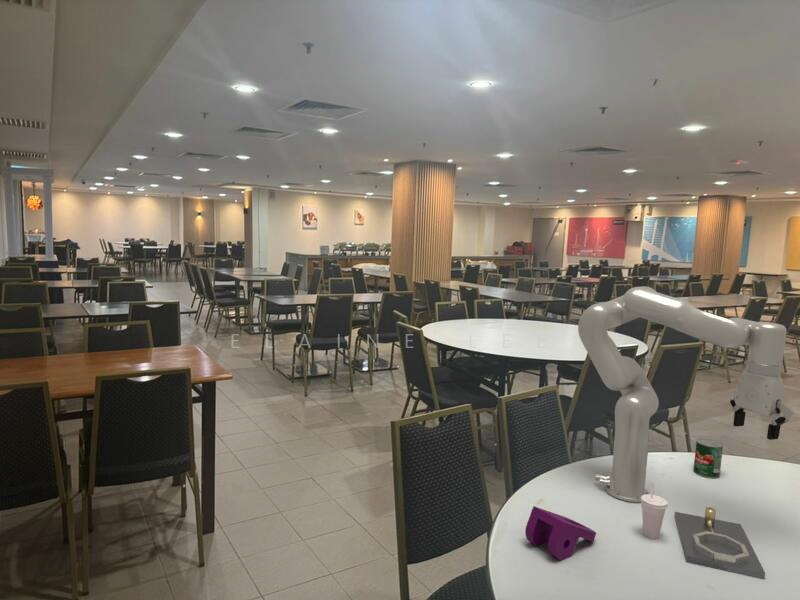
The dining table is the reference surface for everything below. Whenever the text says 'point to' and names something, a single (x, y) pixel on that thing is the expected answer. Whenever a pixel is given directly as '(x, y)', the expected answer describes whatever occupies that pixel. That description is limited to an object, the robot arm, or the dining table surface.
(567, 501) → the dining table surface
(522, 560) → the dining table surface
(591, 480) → the dining table surface
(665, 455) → the dining table surface
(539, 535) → the mounting bracket
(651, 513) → the smoothie
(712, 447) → the canned tomato
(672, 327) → the robot arm
